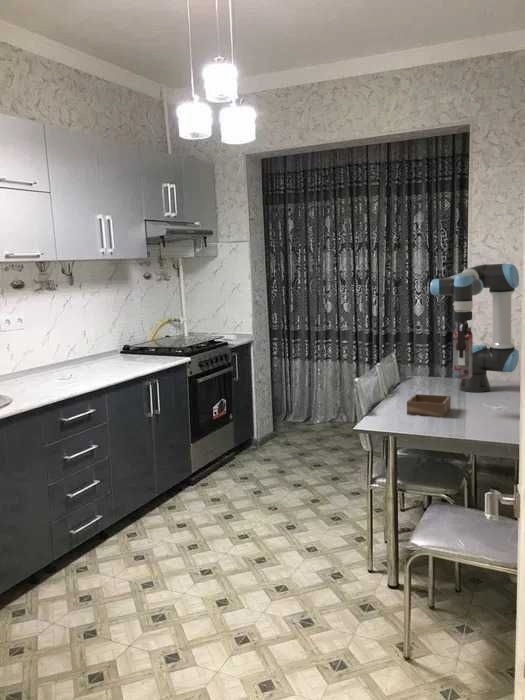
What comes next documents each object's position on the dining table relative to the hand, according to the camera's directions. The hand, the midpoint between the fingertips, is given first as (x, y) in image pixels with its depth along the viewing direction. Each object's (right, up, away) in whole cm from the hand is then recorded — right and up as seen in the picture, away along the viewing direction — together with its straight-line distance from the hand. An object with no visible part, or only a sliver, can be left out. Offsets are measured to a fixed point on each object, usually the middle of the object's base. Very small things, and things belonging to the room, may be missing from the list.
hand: (462, 363), depth 256 cm
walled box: (-12, -22, +10) cm, 27 cm away
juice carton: (0, -6, +1) cm, 6 cm away
